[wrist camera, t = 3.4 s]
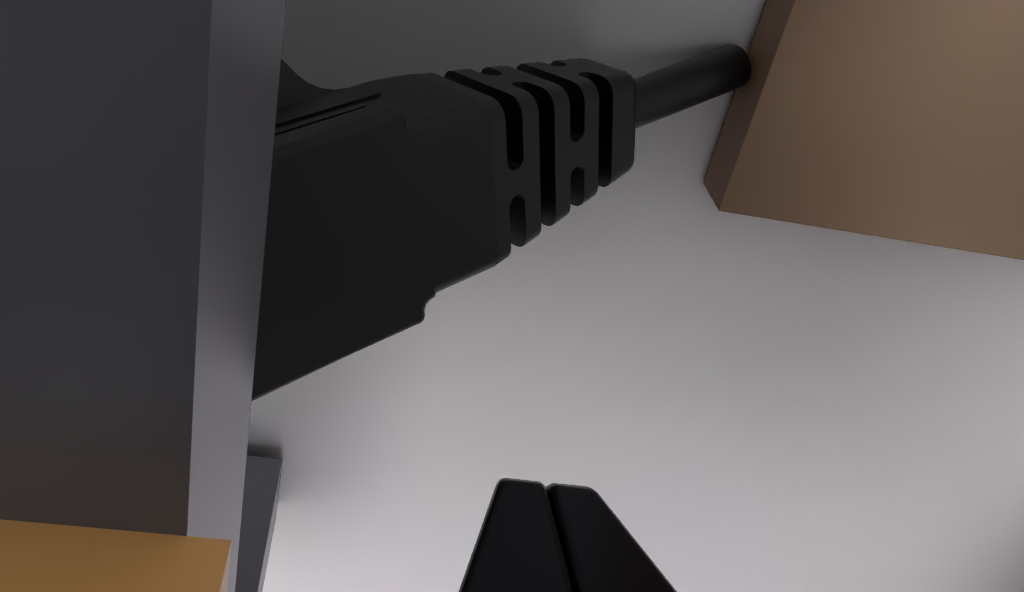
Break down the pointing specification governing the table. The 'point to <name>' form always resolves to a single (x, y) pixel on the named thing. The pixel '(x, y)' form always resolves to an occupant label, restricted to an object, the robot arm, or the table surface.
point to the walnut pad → (882, 122)
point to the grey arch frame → (134, 292)
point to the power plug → (436, 187)
